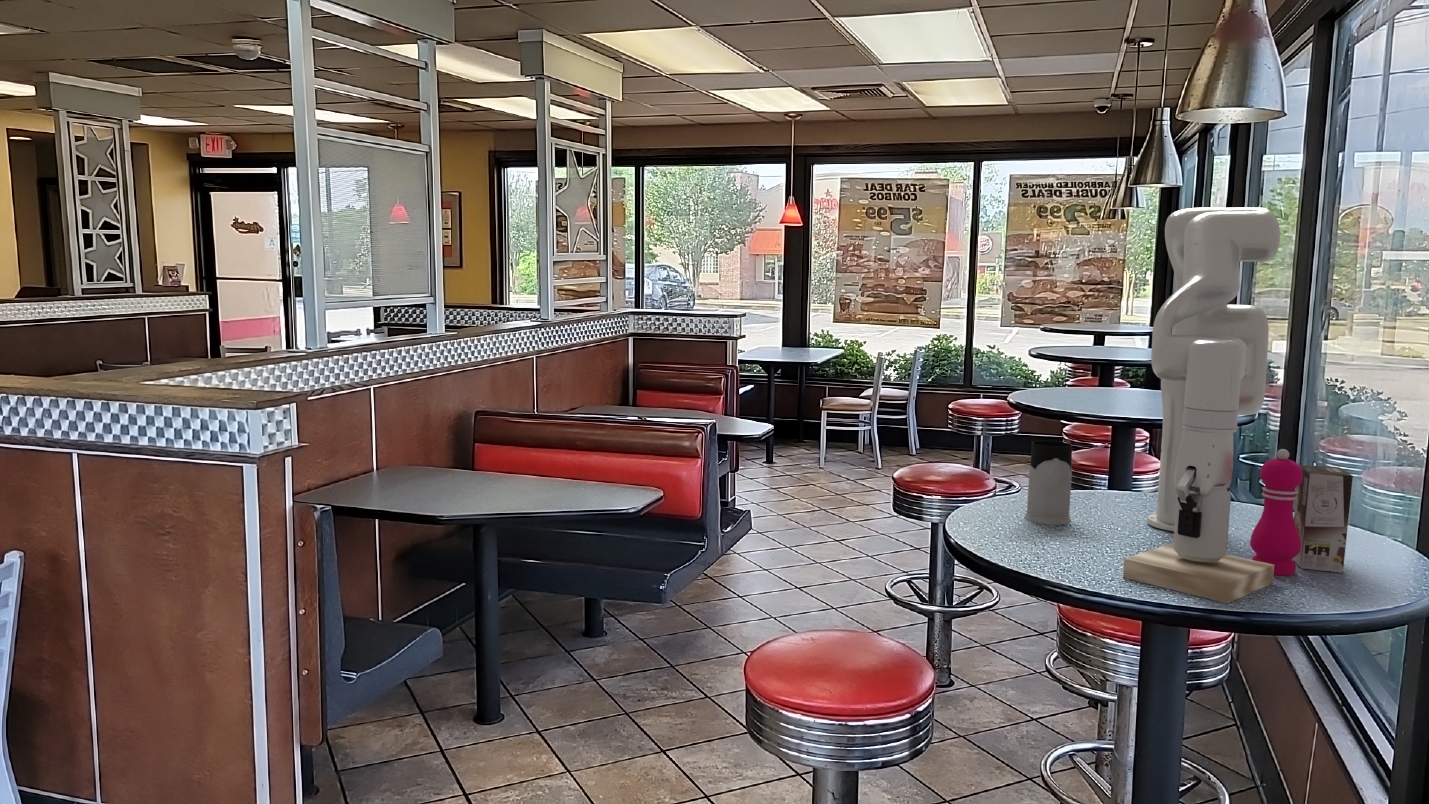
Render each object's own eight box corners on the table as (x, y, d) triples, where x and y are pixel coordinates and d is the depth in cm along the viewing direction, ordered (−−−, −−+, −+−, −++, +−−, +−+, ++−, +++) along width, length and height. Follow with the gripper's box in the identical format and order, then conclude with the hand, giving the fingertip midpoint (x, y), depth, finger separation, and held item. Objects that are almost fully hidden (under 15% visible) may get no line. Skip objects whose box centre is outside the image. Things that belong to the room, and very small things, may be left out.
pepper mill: (1239, 563, 168) (1249, 444, 165) (1283, 564, 167) (1294, 446, 165) (1261, 576, 160) (1272, 452, 158) (1307, 577, 160) (1319, 453, 158)
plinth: (1170, 560, 168) (1172, 543, 168) (1272, 583, 156) (1274, 564, 156) (1122, 577, 158) (1124, 558, 158) (1228, 603, 146) (1229, 583, 146)
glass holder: (1029, 523, 193) (1033, 446, 191) (1014, 507, 207) (1018, 435, 205) (1076, 525, 192) (1081, 448, 190) (1058, 509, 206) (1063, 436, 204)
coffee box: (1345, 573, 163) (1354, 475, 161) (1299, 569, 165) (1308, 472, 163) (1332, 559, 171) (1341, 466, 169) (1289, 555, 173) (1297, 463, 171)
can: (1232, 565, 153) (1238, 487, 151) (1179, 561, 154) (1185, 485, 153) (1217, 552, 160) (1223, 478, 158) (1167, 549, 161) (1173, 475, 160)
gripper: (1210, 413, 163) (1201, 519, 165) (1158, 421, 152) (1150, 535, 154) (1259, 418, 157) (1249, 528, 159) (1209, 427, 146) (1200, 546, 148)
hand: (1201, 531), depth 157 cm, fingers open, 7 cm apart
